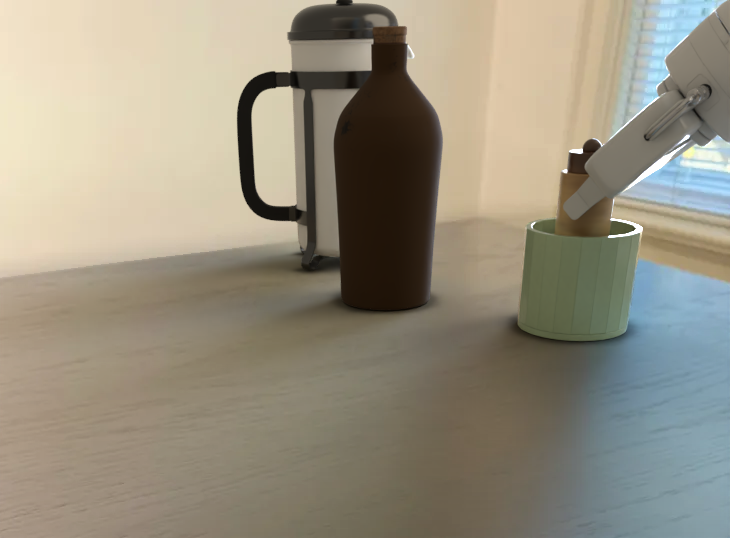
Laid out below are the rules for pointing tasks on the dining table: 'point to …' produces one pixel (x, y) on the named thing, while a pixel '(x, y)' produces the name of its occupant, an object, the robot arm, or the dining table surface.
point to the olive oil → (387, 183)
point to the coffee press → (314, 115)
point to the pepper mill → (570, 181)
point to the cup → (577, 282)
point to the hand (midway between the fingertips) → (578, 207)
